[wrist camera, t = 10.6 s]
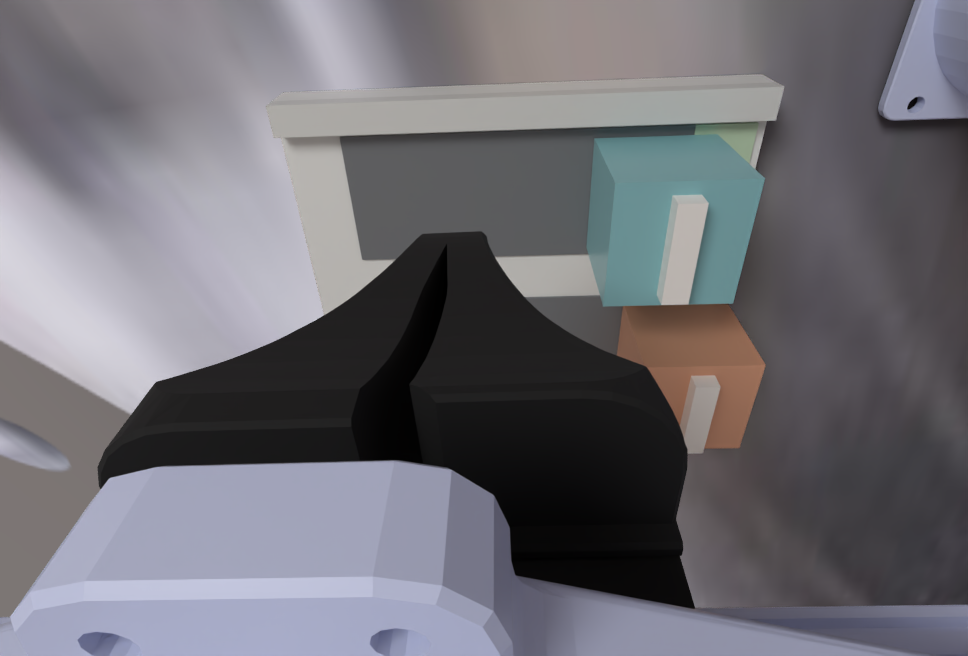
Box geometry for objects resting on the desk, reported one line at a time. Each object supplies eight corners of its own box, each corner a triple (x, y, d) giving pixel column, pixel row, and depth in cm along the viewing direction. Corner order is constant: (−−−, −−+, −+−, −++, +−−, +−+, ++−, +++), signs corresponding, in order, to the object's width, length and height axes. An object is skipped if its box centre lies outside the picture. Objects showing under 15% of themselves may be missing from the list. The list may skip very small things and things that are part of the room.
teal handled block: (717, 134, 18) (774, 187, 15) (695, 244, 21) (739, 314, 17) (594, 138, 19) (619, 191, 15) (586, 247, 21) (606, 317, 17)
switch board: (761, 74, 19) (784, 86, 17) (685, 407, 27) (696, 435, 26) (283, 92, 19) (266, 105, 18) (357, 413, 28) (349, 440, 26)
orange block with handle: (725, 300, 22) (772, 377, 18) (706, 378, 24) (744, 460, 21) (623, 303, 22) (649, 379, 19) (613, 380, 25) (635, 461, 21)
